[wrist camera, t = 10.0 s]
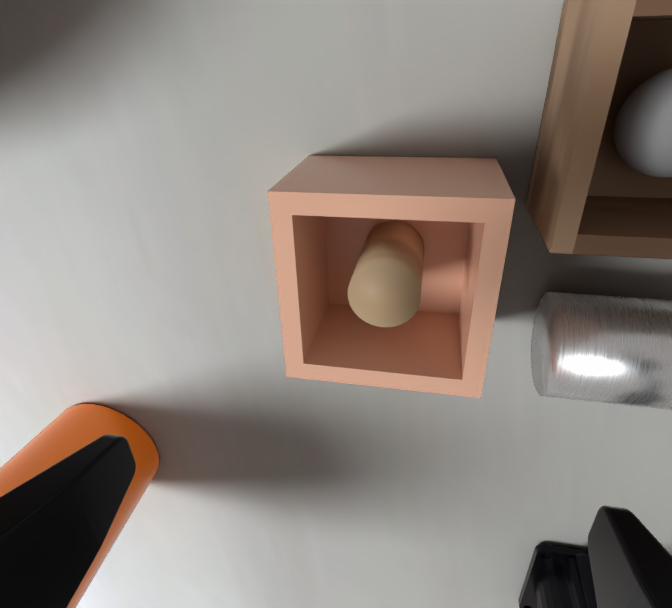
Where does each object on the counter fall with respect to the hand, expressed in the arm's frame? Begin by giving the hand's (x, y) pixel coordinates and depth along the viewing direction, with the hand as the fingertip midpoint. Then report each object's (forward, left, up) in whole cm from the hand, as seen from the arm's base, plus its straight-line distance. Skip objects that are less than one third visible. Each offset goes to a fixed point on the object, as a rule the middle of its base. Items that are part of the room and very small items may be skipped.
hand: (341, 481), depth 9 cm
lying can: (-3, -10, -12) cm, 16 cm away
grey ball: (+5, -8, -10) cm, 14 cm away
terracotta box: (0, 0, -12) cm, 12 cm away
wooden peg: (0, 0, -11) cm, 11 cm away
